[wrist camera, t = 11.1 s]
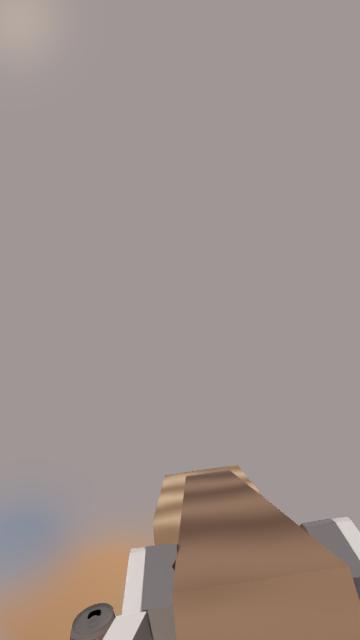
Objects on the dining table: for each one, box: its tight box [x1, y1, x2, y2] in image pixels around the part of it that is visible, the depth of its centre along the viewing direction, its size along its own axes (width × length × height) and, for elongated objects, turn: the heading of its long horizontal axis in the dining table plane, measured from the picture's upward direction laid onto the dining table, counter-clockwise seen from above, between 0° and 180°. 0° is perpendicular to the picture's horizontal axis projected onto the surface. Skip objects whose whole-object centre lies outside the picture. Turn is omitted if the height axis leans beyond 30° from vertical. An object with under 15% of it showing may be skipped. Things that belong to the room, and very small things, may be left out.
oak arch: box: [153, 465, 263, 546], centre depth 29 cm, size 16×11×26 cm
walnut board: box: [172, 470, 360, 640], centre depth 15 cm, size 20×4×2 cm, turn 179°
